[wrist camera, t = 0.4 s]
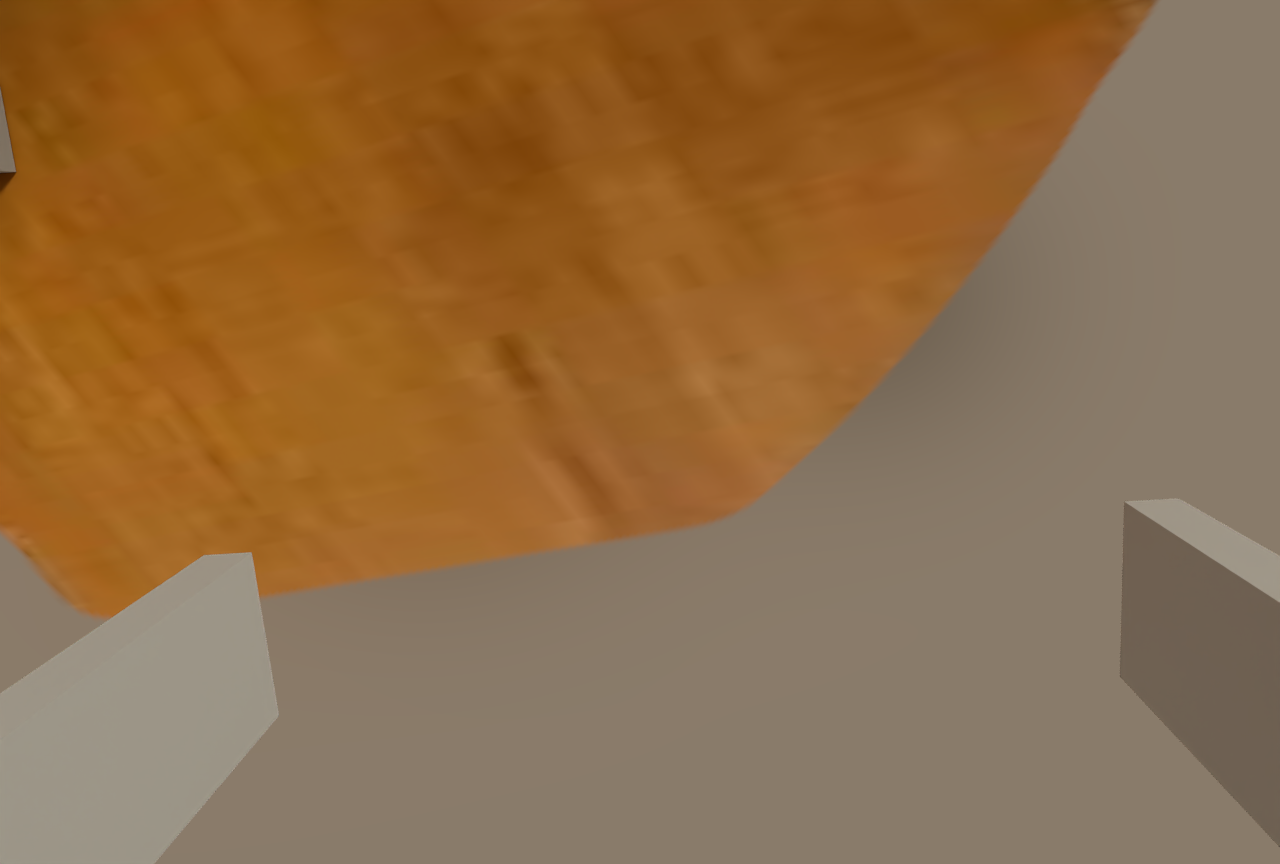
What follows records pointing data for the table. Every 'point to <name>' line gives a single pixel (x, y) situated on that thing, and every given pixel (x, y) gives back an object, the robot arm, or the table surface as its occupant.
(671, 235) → the table surface
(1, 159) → the bar
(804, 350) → the table surface
